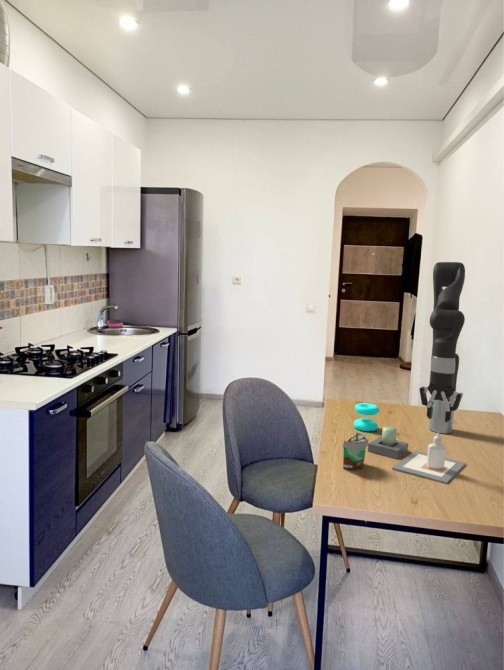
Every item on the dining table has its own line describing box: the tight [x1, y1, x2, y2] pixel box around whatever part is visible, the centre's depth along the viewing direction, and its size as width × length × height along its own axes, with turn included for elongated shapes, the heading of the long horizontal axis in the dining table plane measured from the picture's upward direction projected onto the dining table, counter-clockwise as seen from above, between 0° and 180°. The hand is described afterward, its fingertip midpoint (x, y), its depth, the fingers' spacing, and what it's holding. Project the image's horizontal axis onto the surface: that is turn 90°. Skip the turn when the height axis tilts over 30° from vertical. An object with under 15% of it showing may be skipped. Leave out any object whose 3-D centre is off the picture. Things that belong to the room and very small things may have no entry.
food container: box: [342, 432, 369, 471], centre depth 177 cm, size 12×6×10 cm, turn 148°
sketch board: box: [391, 450, 467, 485], centre depth 180 cm, size 22×18×1 cm
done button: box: [381, 426, 397, 447], centre depth 194 cm, size 5×5×6 cm
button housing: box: [367, 435, 409, 460], centre depth 194 cm, size 11×11×3 cm
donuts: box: [353, 402, 380, 432], centre depth 220 cm, size 10×10×10 cm
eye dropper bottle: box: [426, 432, 447, 469], centre depth 177 cm, size 4×6×12 cm
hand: (438, 419), depth 176 cm, fingers open, 5 cm apart
